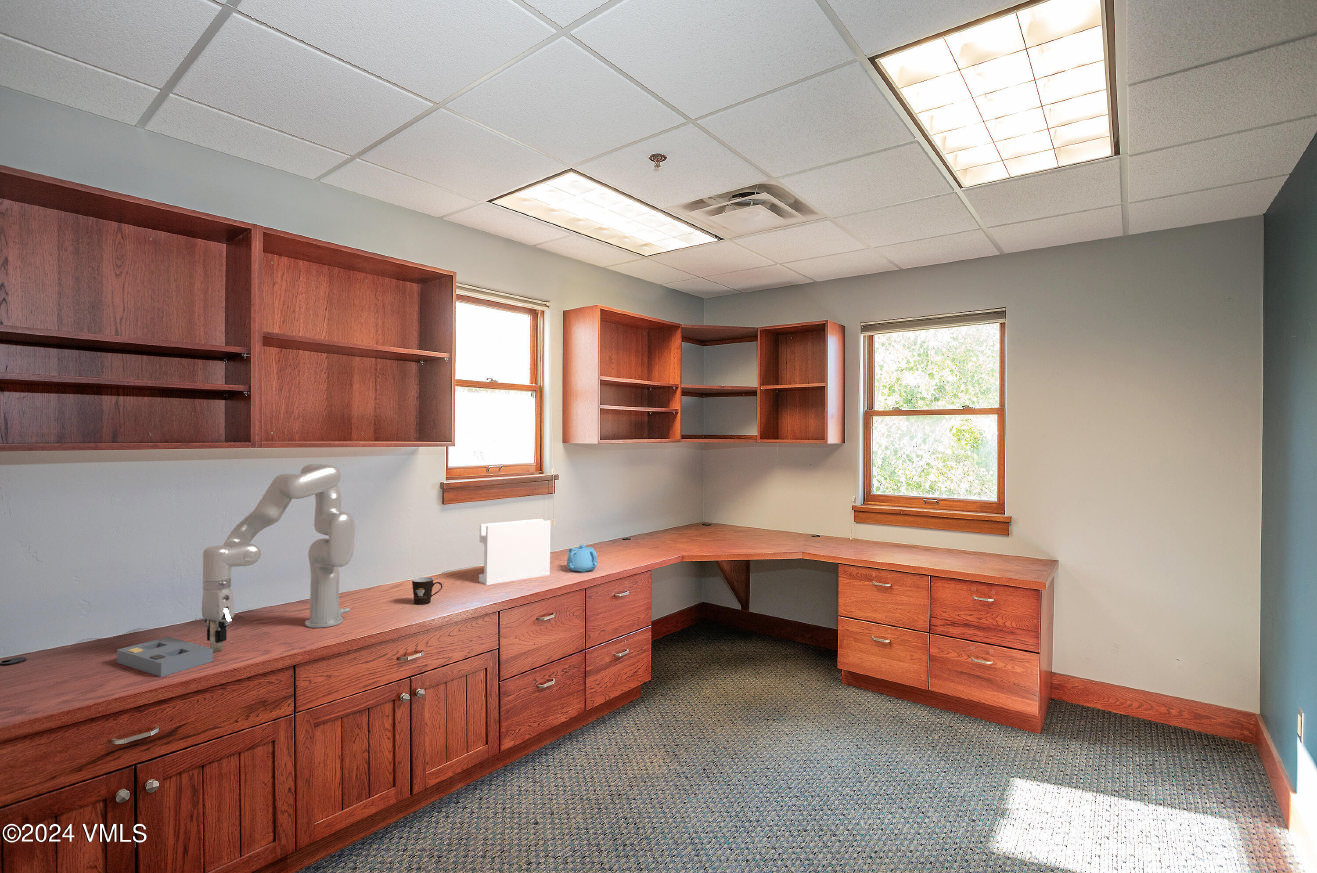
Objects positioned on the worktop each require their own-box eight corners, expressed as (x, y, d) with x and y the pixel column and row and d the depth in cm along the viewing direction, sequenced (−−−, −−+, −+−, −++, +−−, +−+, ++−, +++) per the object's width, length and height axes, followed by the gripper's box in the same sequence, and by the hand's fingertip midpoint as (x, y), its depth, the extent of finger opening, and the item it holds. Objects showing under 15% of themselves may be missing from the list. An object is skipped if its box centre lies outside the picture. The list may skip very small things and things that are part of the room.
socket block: (168, 648, 205) (168, 635, 205) (212, 661, 195) (212, 647, 195) (116, 662, 192) (116, 648, 192) (161, 676, 182) (161, 662, 182)
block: (486, 585, 298) (487, 526, 297) (478, 581, 304) (479, 524, 303) (549, 574, 321) (550, 520, 321) (541, 572, 327) (542, 518, 327)
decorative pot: (597, 573, 326) (598, 547, 326) (566, 573, 324) (566, 547, 324) (597, 567, 342) (597, 542, 342) (567, 567, 340) (568, 542, 340)
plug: (219, 647, 207) (219, 617, 207) (225, 649, 205) (226, 618, 205) (207, 650, 203) (207, 620, 203) (214, 652, 202) (214, 621, 202)
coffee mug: (406, 604, 262) (407, 580, 262) (420, 599, 270) (421, 576, 270) (429, 607, 258) (430, 583, 258) (443, 602, 266) (443, 578, 266)
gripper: (244, 585, 204) (244, 641, 204) (213, 579, 211) (213, 633, 211) (220, 590, 197) (220, 648, 197) (189, 584, 204) (189, 640, 204)
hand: (216, 640), depth 204 cm, fingers closed on plug, 3 cm apart
